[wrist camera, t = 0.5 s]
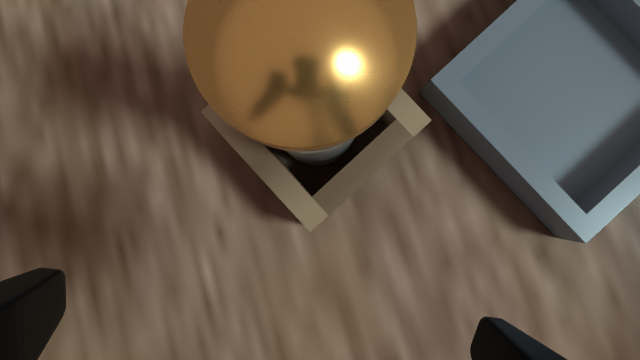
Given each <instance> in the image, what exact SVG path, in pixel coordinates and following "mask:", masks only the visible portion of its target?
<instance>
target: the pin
mask: <svg viewBox="0 0 640 360" xmlns="http://www.w3.org/2000/svg"><path fill="white" fill-rule="evenodd" d="M416 39H417V19H416V13H415V7H414V2H413V0H188V2H187V6H186V10H185V16H184V24H183V42H184V49H185V56H186V60H187V63H188V67H189V70H190V73H191V75H192V78H193V80H194V82H195V85H196V86H197V88H198V90H199V91H200V93H201V95H202V96H203V98H204V99H205V100H206V102H207V103H208V104H209V105H210V107H211V108H212V109H213V110H214V111H215V112H216V113H217V114H218V115H219V116H220V117H221V118H222V119H223V120H224V121H226V122H227V123H229V124H230V125H231V126H233V127H234V128H235V129H237V130H238V131H240V132H241V133H243V134H244V135H246V136H247V137H249V138H251V139H253V140H255V141H257V142H259V143H261V144H264V145H267V146H269V147H273V148H277V149H281V150H286V151H287V152H288V153H289V154H290V155H291V156H292V157H294V158H295V159H296V160H298V161H300V162H302V163H305V164H309V165H325V164H329V163H331V162H334V161H336V160H337V159H339V158H340V157H342V156H343V155H344V154H345V153H346V152H347V151H348V149H349V148H350V146H351V144H352V143H353V140H354V138H355V137H356V136H358V135H360V134H361V133H363V132H364V131H366V130H367V129H368V128H369V127H370V126H372V125H373V124H374V123H375V122H376V121H377V120H378V119H379V118H380V117H381V116H382V115H383V114H384V112H385V111H386V110H387V108H388V107H389V106H390V104H391V103H392V101H393V100H394V99H395V97H396V96H397V94H398V93H399V91H400V89H401V88H402V86H403V84H404V82H405V80H406V78H407V76H408V73H409V70H410V68H411V65H412V62H413V58H414V53H415V49H416Z"/></svg>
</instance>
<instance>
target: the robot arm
mask: <svg viewBox="0 0 640 360" xmlns="http://www.w3.org/2000/svg"><path fill="white" fill-rule="evenodd" d="M65 308H66V282H65V274H64V272H63V271H62V270H60V269H51V268H38V269H35V270H32V271H29V272H26V273H23V274H20V275H18V276H15V277H12V278H9V279H6V280H3V281H0V360H38V358H39V356H40V355H41V353H42V351H43V350H44V348H45V346H46V344H47V343H48V341H49V339H50V338H51V336H52V334H53V332H54V331H55V329H56V327H57V326H58V324H59V322H60V320H61V319H62V317H63V315H64V312H65ZM470 353H471V358H472V360H567V359H566V358H564V357H562V356H561V355H559V354H558V353H556V352H554V351H553V350H551V349H549V348H548V347H546V346H545V345H543V344H541V343H540V342H538V341H537V340H535V339H533V338H532V337H530V336H529V335H527V334H525V333H524V332H522V331H521V330H519V329H517V328H516V327H514V326H513V325H511V324H509V323H508V322H506V321H505V320H503V319H501V318H494V317H483V318H482V319H481V320H480V321H479V324H478V327H477V329H476V332H475V335H474V338H473V341H472V343H471V348H470Z"/></svg>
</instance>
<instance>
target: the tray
mask: <svg viewBox="0 0 640 360" xmlns="http://www.w3.org/2000/svg"><path fill="white" fill-rule="evenodd" d="M419 93H420V94H421V95H422V96H423V98H424V99H425V100H426V101H427V102H428V103H429V104H430V105H431V106H432V107H433V108H434V109H435V110H436V111H437V112H438V113H439V114H440V116H441V117H442V118H443V119H444V120H445V121H446V122H447V123H448V124H449V125H450V126H451V127H452V128H453V129H454V130H455V131H456V132H457V133H458V135H459V136H460V137H461V138H462V139H463V140H464V141H465V142H466V143H467V144H468V145H469V146H470V147H471V148H472V149H473V150H474V151H475V153H476V154H477V155H478V156H479V157H480V158H481V159H482V160H483V161H484V162H485V163H486V164H487V165H488V166H489V167H490V168H491V169H492V170H493V172H494V173H495V174H496V175H497V176H498V177H499V178H500V179H501V180H502V181H503V182H504V183H505V184H506V185H507V186H508V187H509V188H510V189H511V191H512V192H513V193H514V194H515V195H516V196H517V197H518V198H519V199H520V200H521V201H522V202H523V203H524V204H525V205H526V206H527V207H528V209H529V210H530V211H531V212H532V213H533V214H534V215H535V216H536V217H537V218H538V219H539V220H540V221H541V222H542V223H543V224H544V225H545V226H546V228H547V229H548V230H549V231H550V232H551V233H552V234H553V235H554V236H555V237H556V238H561V239H566V240H571V241H576V242H581V243H587V242H588V241H589V240H590V239H591V238H592V237H594V236H595V235H596V234H597V233H598V232H599V231H600V230H601V229H602V228H603V227H604V226H605V225H607V224H608V223H609V222H610V221H611V220H612V219H613V218H614V217H615V216H616V215H617V214H618V213H619V212H621V211H622V210H623V209H624V208H625V207H626V206H627V205H628V204H629V203H630V202H631V201H632V200H634V199H635V198H636V197H637V196H638V195H639V194H640V0H517V1H516V2H515V3H513V4H512V5H511V6H510V7H509V8H508V9H507V10H506V11H505V12H504V13H503V14H501V15H500V16H499V17H498V18H497V19H496V20H495V21H494V22H493V23H492V24H491V25H490V26H488V27H487V28H486V29H485V30H484V31H483V32H482V33H481V34H480V35H479V36H478V37H477V38H475V39H474V40H473V41H472V42H471V43H470V44H469V45H468V46H467V47H466V48H465V49H463V50H462V51H461V52H460V53H459V54H458V55H457V56H456V57H455V58H454V59H453V60H452V61H450V62H449V63H448V64H447V65H446V66H445V67H444V68H443V69H442V70H441V71H440V72H438V73H437V74H436V75H435V76H434V77H433V78H432V79H431V80H430V81H429V82H428V83H427V84H426V85H425V87H424V88H423V89H422V90H421V91H420V92H419Z"/></svg>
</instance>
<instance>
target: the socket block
mask: <svg viewBox="0 0 640 360" xmlns="http://www.w3.org/2000/svg"><path fill="white" fill-rule="evenodd" d="M200 112H201V113H202V114H203V115H204V117H205V118H206V119H207V120H208V121H209V122H210V123H211V124H212V125H213V126H214V128H215V129H216V130H217V131H218V132H219V133H220V134H221V135H222V136H223V137H224V139H225V140H226V141H227V142H228V143H229V144H230V145H231V146H232V147H233V148H234V149H235V151H236V152H237V153H238V154H239V155H240V156H241V157H242V158H243V159H244V160H245V162H246V163H247V164H248V165H249V166H250V167H251V168H252V169H253V170H254V171H255V172H256V174H257V175H258V176H259V177H260V178H261V179H262V180H263V181H264V182H265V183H266V185H267V186H268V187H269V188H270V189H271V190H272V191H273V192H274V193H275V194H276V195H277V197H278V198H279V199H280V200H281V201H282V202H283V203H284V204H285V205H286V206H287V208H288V209H289V210H290V211H291V212H292V213H293V214H294V215H295V216H296V217H297V219H298V220H299V221H300V222H301V223H302V224H303V225H304V226H305V227H306V228H307V229H308V231H309V232H311V231H312V230H313V229H314V228H315V227H316V226H317V225H319V224H320V223H321V222H322V221H323V220H324V219H325V218H326V217H327V216H328V215H329V214H331V213H332V212H333V211H334V210H335V209H336V208H337V207H338V206H339V205H340V204H341V203H342V202H344V201H345V200H346V199H347V198H348V197H349V196H350V195H351V194H352V193H353V192H354V191H355V190H357V189H358V188H359V187H360V186H361V185H362V184H363V183H364V182H365V181H366V180H367V179H369V178H370V177H371V176H372V175H373V174H374V173H375V172H376V171H377V170H378V169H379V168H380V167H382V166H383V165H384V164H385V163H386V162H387V161H388V160H389V159H390V158H391V157H392V156H393V155H395V154H396V153H397V152H398V151H399V150H400V149H401V148H402V147H403V146H404V145H405V144H407V143H408V142H409V141H410V140H411V139H412V138H413V137H414V136H415V135H416V134H417V133H418V132H420V131H421V130H422V129H423V128H424V127H425V126H426V125H427V124H428V123H429V122H430V121H431V119H430V118H429V117H428V116H427V115H426V114H425V113H424V111H423V110H422V109H421V108H420V107H419V106H418V105H417V104H416V103H415V102H414V101H413V100H412V99H411V98H410V97H409V96H408V95H407V93H406V92H405V91H404V90H403V89H402V88H401V89H400V91H399V93H398V94H397V96H396V97H395V99H394V100H393V101H392V103H391V104H390V106H389V107H388V108H387V110H386V111H385V112H384V114H383V115H382V116H381V117H380V118H379V119H378V120H379V121H380V122H381V123H382V124H383V125H384V126H385V127H386V129H385V130H384V131H383V132H382V133H381V134H380V135H379V136H377V137H376V138H375V139H374V140H373V141H372V142H371V143H370V144H369V145H368V146H367V147H366V148H364V149H363V150H362V151H361V152H360V153H359V154H358V155H357V156H356V157H355V158H354V159H353V160H351V161H350V162H349V163H348V164H347V165H346V166H345V167H344V168H343V169H342V170H341V171H339V172H338V173H337V174H336V175H335V176H334V177H333V178H332V179H331V180H330V181H329V182H328V183H326V184H325V185H324V186H323V187H322V188H321V189H320V190H319V191H318V192H317V193H316V194H314V195H312V194H311V193H310V192H309V191H308V189H307V188H306V187H305V186H304V185H303V184H302V183H301V182H300V181H299V180H298V179H297V177H296V176H295V175H294V174H293V173H292V172H291V171H290V170H289V169H288V168H287V167H286V165H285V164H284V163H283V162H282V161H281V160H280V159H279V158H278V157H277V156H276V155H275V153H274V152H273V151H272V150H271V149H270V148H269V147H268V146H267V145H264V144H261V143H259V142H257V141H255V140H253V139H251V138H249V137H247V136H246V135H244V134H243V133H241V132H240V131H238V130H237V129H235V128H234V127H233V126H231V125H230V124H229V123H227V122H226V121H224V120H223V119H222V118H221V117H220V116H219V115H218V114H217V113H216V112H215V111H214V110H213V109H212V108H211V107H210V105H209V104H208V105H207V106H206V107H205V108H204V109H202V110H201V111H200Z"/></svg>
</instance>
